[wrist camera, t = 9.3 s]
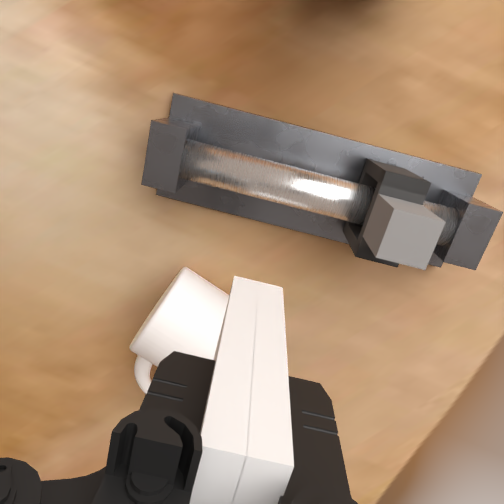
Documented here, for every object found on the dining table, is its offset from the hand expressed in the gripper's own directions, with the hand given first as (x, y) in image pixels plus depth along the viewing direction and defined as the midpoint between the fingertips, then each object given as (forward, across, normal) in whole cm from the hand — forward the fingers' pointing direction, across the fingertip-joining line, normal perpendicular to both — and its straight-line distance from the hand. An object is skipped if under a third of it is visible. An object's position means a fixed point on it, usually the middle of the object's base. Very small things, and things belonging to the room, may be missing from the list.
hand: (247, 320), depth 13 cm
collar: (+23, +9, +1) cm, 24 cm away
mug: (+23, -2, -15) cm, 28 cm away
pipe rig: (+23, +4, +1) cm, 23 cm away
